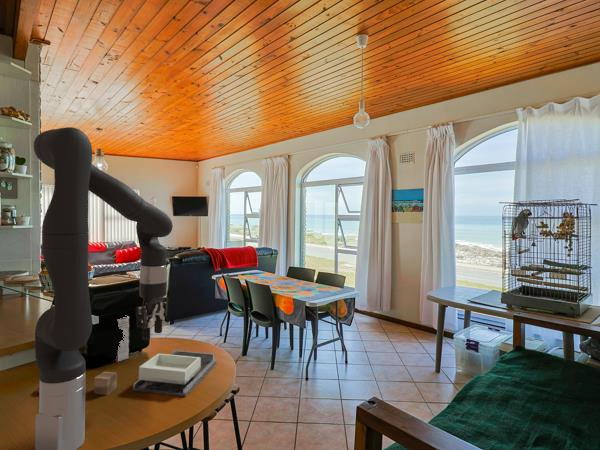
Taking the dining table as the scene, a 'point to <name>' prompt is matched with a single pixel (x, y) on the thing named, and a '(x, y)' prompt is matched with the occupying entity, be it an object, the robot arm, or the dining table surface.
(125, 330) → the candy bar box
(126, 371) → the dining table surface
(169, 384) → the dark rimmed tray
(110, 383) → the light brown block
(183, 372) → the white box on tray
